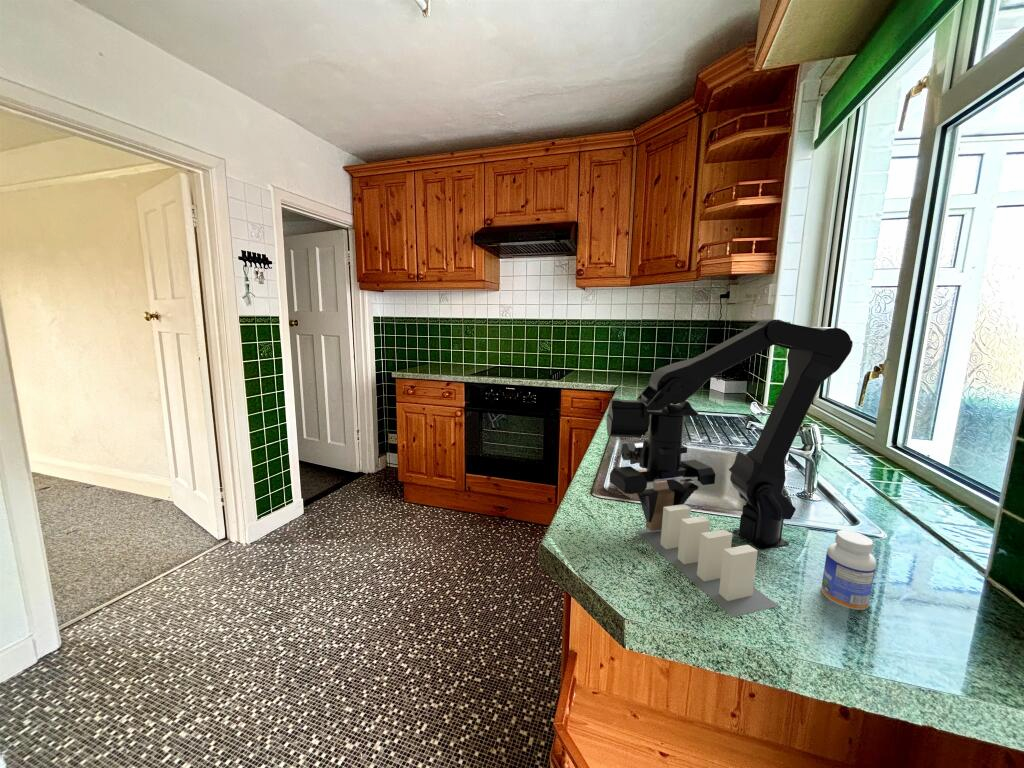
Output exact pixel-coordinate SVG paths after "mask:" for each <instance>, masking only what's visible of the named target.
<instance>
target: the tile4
mask: <svg viewBox="0 0 1024 768" xmlns="http://www.w3.org/2000/svg"><path fill="white" fill-rule="evenodd" d="M732 541H733V534H732V533H731V532H730V531H727V530H726V529H718V530H713V531H709V532H704V533H701V536H700V546H699V557H698V568H697V576H699V577H700V578H701V579H702V580H703V581H709V580H714V579H719V578H721V569H722V559H723V550H724V549H727V548H732Z"/></svg>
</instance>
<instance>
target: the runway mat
mask: <svg viewBox="0 0 1024 768" xmlns="http://www.w3.org/2000/svg"><path fill="white" fill-rule="evenodd" d="M661 531H662V529H661V530H655V531H650V530H649V529H648V528H645V529H640V530H638V529H637V530H634V532H635V533H636V534H637V535H639V536H640V537H641V539H643V540H644V541H645V542H647V544H649V545H650V546H651V547H652V548H654V549H655V550H656V552H657V553H659V554H660V555H661V556H662V557H664V558H665V560H667V561H668V562H669V563H670V564H671V565H672V566H674V567H675V568H676V570H678V571H679V572H681V574H682V575H684V576H685V577H686V578H687V579H688V580H689V581H691V582H692V583H693V584H694V585H695V586H696V587H697V588H699V590H701V591H702V592H703V593H705V595H706V596H708V597H709V598H710V599H711V600H712V601H714V602H715V603H716V605H718V606H719V607H720V608H721V609H722V610H724V611H725V612H726V613H727V614H728V615H729V616H730V617H732V618H734V617H738V616H743V615H749V614H751V613H755V612H760V611H764V610H768V609H773V608H777V607H780V605H778V604H777V603H776V602H775V601H773V600H772V599H770V598H769V597H768V596H766V595H765V594H764V593H762V592H761V591H759V590H758V589H757V588H756V587H754V586H753V594H752V596H748V597H743V598H739V599H734V600H730V601H727V600H726V599H725V598H723V597H722V596H721V595H720V594H719V588H720V578H719V579H714V580H709V581H703V580H702V579H701V578H700V577H699V576H697V568H698V562H694V563H688V564H683V563H682V562H681V561H680V560H678V547H677V548H671V549H665V548H664V547H663V546H662V545H661Z"/></svg>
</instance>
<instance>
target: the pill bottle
mask: <svg viewBox="0 0 1024 768" xmlns="http://www.w3.org/2000/svg"><path fill="white" fill-rule="evenodd" d="M834 540H835V541H834V542H833V543H831V544H829V545H828V547H827V551H826V556H825V563H824V566H823V567H824V569H823V575H822V581H821V587H820V588H821V589H820V590H821V593H822V594H823V595H824V596H825V597H826V598H827V599H829V601H831V602H834V603H836V604H837V605H839V606H843V607H844V608H846V609H847V608H848V609H851V610H856V611H857V610H858V611H861V610H862V611H863V610H866V609H868V608H869V605H870V599H871V594H872V589H873V583H874V578H875V573H876V570H877V559H876V558H875V557H874V555H873V554H872V552H873V549H874V541H873V540H872V539H871V538H870V537H869V536H866V535H864V534H862V533H859V532H856V531H852V530H848V529H842V530H837V532H836V536H835V538H834Z"/></svg>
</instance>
